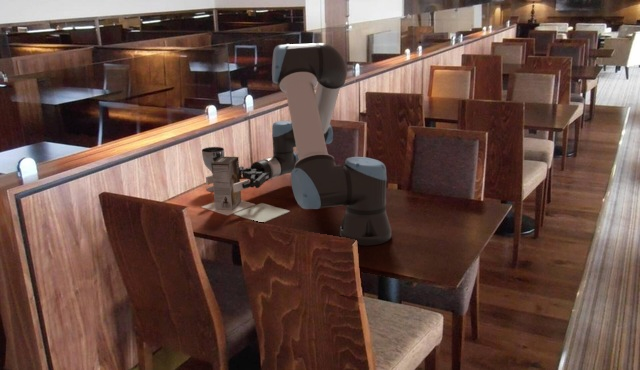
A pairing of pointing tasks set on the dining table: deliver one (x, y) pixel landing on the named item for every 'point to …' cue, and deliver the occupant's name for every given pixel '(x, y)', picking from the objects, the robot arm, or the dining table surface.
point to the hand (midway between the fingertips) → (219, 184)
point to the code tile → (239, 207)
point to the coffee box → (226, 182)
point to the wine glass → (211, 158)
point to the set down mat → (261, 212)
